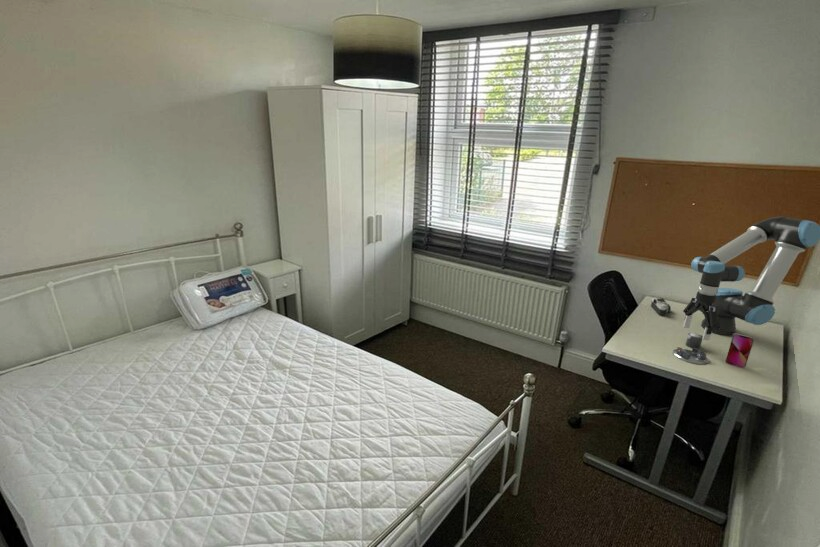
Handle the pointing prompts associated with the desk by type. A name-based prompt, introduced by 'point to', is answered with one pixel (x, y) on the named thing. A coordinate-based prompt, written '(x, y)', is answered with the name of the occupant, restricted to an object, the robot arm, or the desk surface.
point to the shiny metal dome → (691, 355)
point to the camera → (660, 306)
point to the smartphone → (739, 350)
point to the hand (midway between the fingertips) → (695, 333)
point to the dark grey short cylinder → (694, 340)
